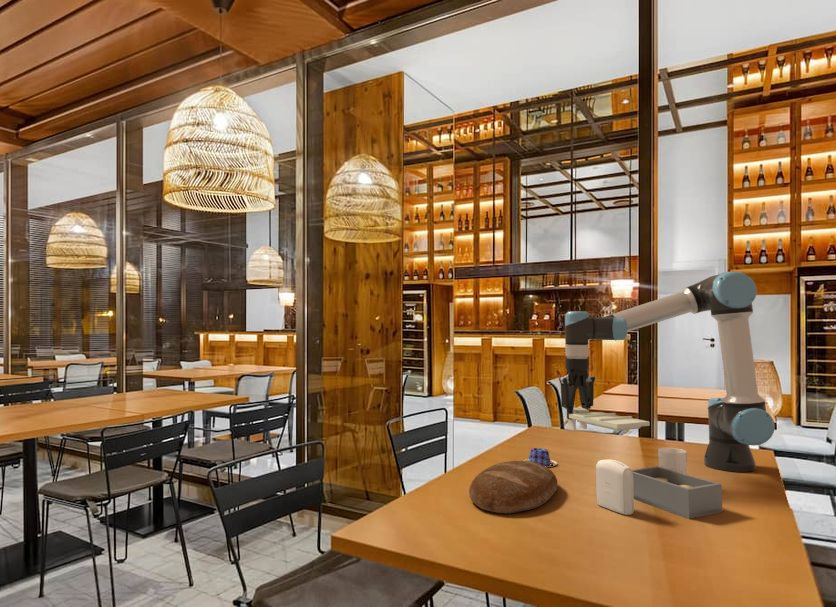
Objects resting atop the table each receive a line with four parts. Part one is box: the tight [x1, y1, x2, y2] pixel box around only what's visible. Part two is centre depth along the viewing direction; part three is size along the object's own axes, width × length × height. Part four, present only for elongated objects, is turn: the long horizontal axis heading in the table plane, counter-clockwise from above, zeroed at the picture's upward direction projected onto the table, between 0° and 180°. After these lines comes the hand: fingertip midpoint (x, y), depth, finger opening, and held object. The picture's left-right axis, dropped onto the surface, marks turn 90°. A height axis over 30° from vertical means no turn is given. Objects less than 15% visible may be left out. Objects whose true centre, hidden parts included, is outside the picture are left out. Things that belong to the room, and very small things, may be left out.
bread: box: [468, 459, 558, 515], centre depth 151 cm, size 22×37×8 cm, turn 152°
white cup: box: [657, 447, 688, 475], centre depth 161 cm, size 8×8×10 cm
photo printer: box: [595, 458, 635, 516], centre depth 138 cm, size 10×4×12 cm, turn 26°
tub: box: [631, 465, 723, 520], centre depth 142 cm, size 12×20×7 cm, turn 24°
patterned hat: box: [524, 447, 558, 468], centre depth 186 cm, size 12×12×5 cm
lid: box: [569, 407, 651, 432], centre depth 168 cm, size 13×27×3 cm, turn 24°
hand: (577, 428), depth 177 cm, fingers closed on lid, 4 cm apart
